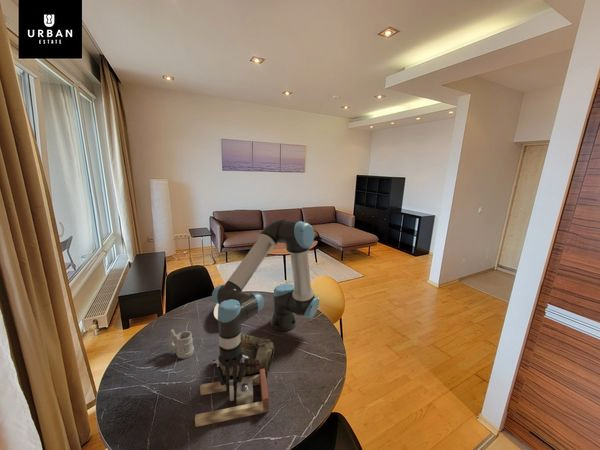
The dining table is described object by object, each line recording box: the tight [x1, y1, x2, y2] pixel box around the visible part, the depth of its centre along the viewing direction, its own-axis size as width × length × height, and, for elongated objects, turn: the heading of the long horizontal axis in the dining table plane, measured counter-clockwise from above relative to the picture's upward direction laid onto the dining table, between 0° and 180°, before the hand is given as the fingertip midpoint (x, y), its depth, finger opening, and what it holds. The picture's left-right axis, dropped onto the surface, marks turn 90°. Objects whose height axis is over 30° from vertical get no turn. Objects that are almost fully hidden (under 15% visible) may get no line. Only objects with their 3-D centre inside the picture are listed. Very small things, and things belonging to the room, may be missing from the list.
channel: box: [194, 368, 270, 428], centre depth 93 cm, size 25×14×6 cm, turn 104°
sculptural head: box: [220, 333, 275, 377], centre depth 108 cm, size 17×21×25 cm
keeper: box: [235, 379, 254, 406], centre depth 93 cm, size 6×7×6 cm
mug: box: [168, 329, 195, 360], centre depth 116 cm, size 8×12×12 cm, turn 83°
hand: (232, 397), depth 93 cm, fingers closed
